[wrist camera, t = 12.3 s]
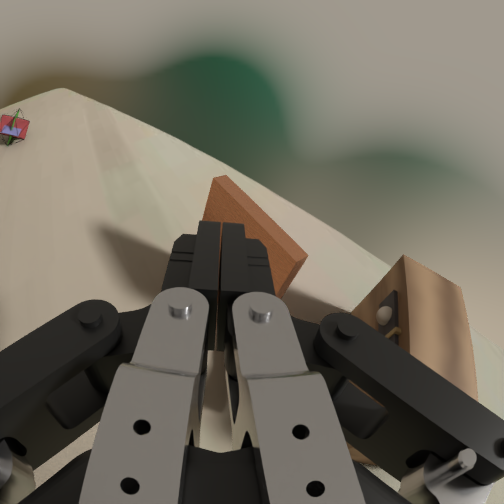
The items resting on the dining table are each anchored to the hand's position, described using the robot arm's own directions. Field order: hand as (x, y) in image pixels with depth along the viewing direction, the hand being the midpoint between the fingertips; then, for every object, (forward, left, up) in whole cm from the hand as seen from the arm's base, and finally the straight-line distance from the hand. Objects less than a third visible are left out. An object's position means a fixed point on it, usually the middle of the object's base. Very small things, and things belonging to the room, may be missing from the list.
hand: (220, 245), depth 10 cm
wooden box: (+21, +10, -21) cm, 32 cm away
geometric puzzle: (-52, +23, -22) cm, 61 cm away
